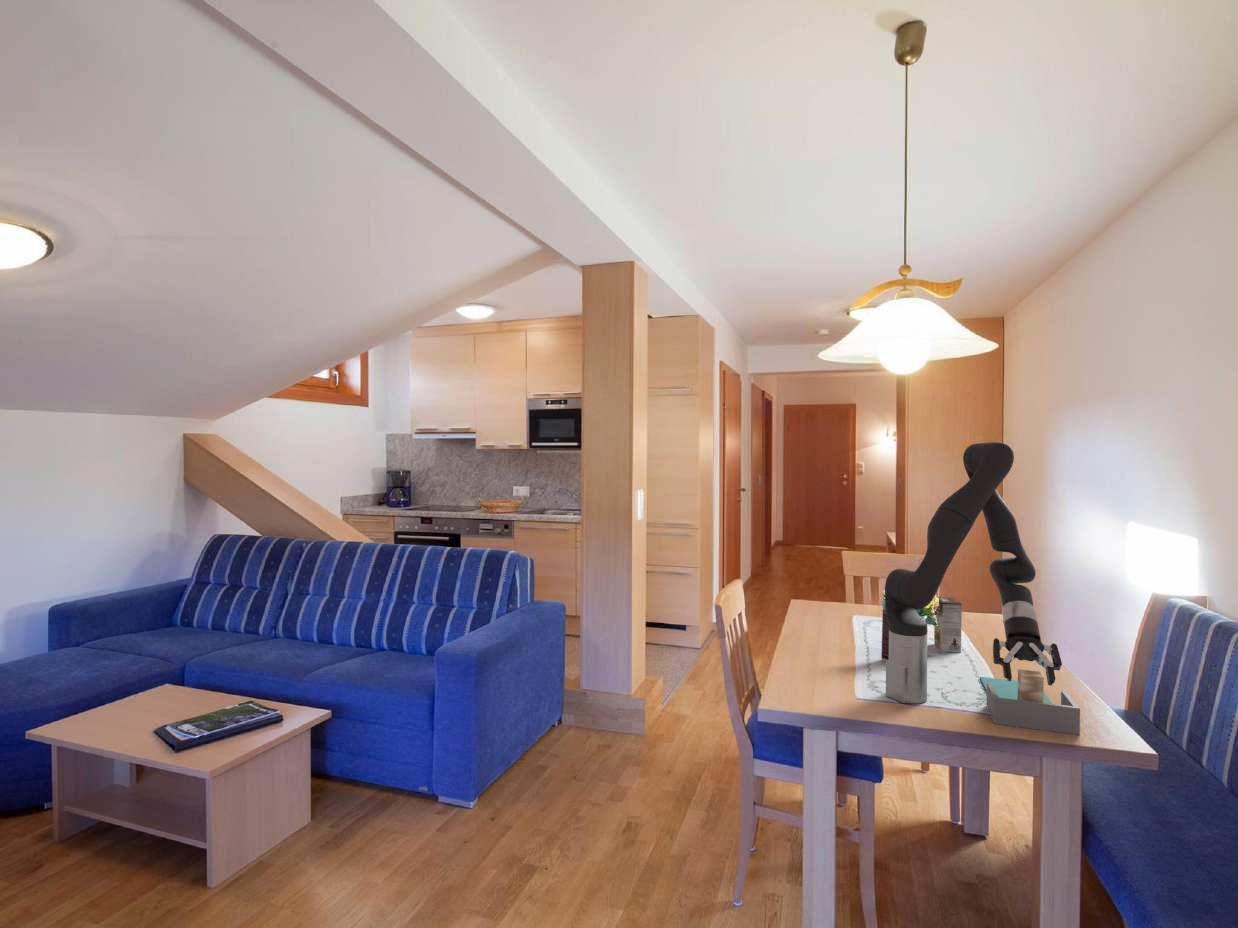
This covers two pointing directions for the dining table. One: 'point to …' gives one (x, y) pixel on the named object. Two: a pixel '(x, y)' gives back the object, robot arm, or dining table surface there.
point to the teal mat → (1007, 688)
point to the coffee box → (948, 625)
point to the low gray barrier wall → (1034, 713)
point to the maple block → (1030, 686)
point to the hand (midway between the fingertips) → (1030, 681)
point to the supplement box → (885, 637)
